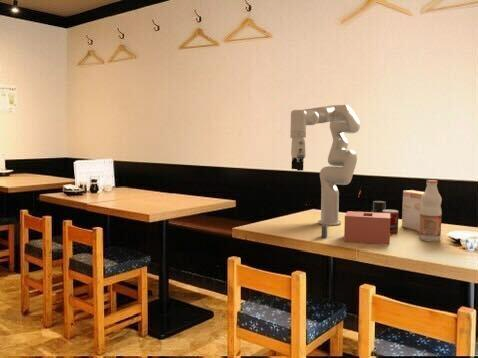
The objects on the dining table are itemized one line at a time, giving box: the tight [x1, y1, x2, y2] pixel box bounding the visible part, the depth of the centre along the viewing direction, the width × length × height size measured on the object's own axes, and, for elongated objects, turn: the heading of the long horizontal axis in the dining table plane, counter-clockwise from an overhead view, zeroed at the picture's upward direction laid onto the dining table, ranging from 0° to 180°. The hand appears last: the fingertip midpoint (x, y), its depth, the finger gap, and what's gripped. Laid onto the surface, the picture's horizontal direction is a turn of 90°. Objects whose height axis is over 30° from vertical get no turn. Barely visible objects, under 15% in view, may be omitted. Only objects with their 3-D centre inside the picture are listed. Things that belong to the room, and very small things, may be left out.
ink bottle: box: [370, 200, 387, 213], centre depth 269 cm, size 10×9×12 cm
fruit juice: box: [418, 179, 443, 242], centre depth 227 cm, size 9×9×28 cm
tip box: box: [343, 210, 391, 246], centre depth 226 cm, size 14×20×12 cm
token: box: [321, 224, 329, 239], centre depth 233 cm, size 6×2×6 cm, turn 162°
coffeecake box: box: [401, 189, 425, 232], centre depth 253 cm, size 15×7×20 cm, turn 18°
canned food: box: [382, 209, 399, 235], centre depth 244 cm, size 8×8×11 cm
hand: (297, 169), depth 240 cm, fingers open, 9 cm apart
